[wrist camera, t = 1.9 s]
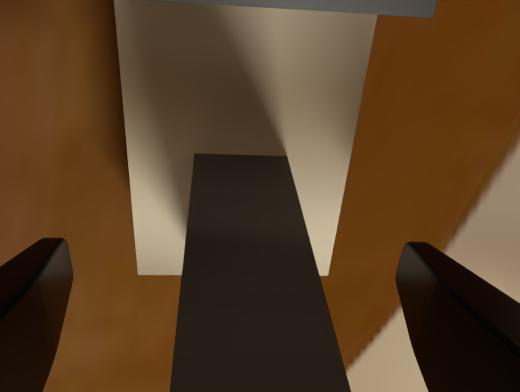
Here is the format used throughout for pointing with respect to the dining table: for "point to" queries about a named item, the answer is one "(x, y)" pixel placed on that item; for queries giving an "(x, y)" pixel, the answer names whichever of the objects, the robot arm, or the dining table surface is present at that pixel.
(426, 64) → the dining table surface
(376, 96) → the dining table surface
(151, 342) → the dining table surface
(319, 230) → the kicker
